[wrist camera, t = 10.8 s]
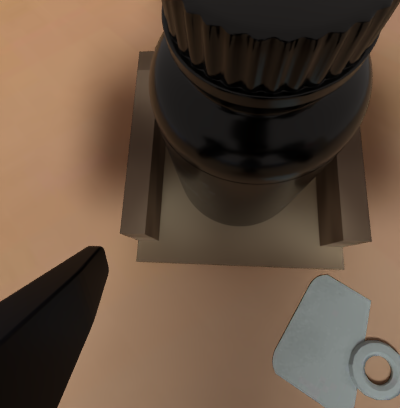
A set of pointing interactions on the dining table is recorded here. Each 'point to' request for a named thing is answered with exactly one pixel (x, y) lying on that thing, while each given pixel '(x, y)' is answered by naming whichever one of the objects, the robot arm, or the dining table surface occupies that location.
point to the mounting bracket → (333, 347)
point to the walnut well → (237, 235)
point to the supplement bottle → (260, 95)
